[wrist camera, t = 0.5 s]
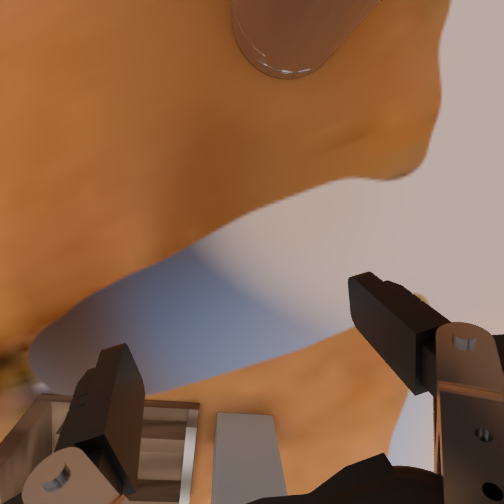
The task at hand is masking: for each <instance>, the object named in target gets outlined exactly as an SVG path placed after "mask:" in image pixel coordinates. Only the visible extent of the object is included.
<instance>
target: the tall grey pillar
mask: <svg viewBox="0 0 504 504" xmlns="http://www.w3.org/2000/svg"><path fill="white" fill-rule="evenodd" d="M277 496H288V495H287V490H286V485H285V479H284V474H283V469H282V463H281V458H280V453H279V448H278V442H277V437H276V432H275V426H274V421H273V416H272V415H257V414H239V413H221V412H217V421H216V430H215V438H214V452H213V474H212V496H211V504H246V503H249V502H252V501H254V500H257V499H260V498H264V497H277Z"/></svg>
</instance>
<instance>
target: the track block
mask: <svg viewBox="0 0 504 504" xmlns="http://www.w3.org/2000/svg"><path fill="white" fill-rule="evenodd" d="M71 400H73V396H63V395H46V394H41V395H40V396H39V397H38V399H37V400H36V401H35V402H34V403H33V405H32V406H31V407H30V408H29V409H28V411H27V412H26V413H25V414H24V415H23V417H22V418H21V419H20V420H19V421H18V423H17V424H16V425H15V426H14V427H13V429H12V430H11V431H10V432H9V433H8V435H7V436H6V437H5V438H4V440H3V441H2V442H1V443H0V504H3V503H4V502H6V501H8V500H9V499H11V498H13V497H14V496H16V495H17V494H19V493H21V492H22V490H23V487H24V484H25V482H26V480H27V478H28V477H29V475H30V474H31V472H32V471H33V470H34V469H35V468H36V467H37V466H38V464H40V463H41V462H42V461H43V460H44V459H45V458H47V457H48V456H50V455H51V454H53V453H54V450H55V447H56V444H57V441H58V438H59V435H60V433H61V430H62V427H63V424H64V421H65V418H66V415H67V412H68V411H69V406H70V403H71ZM199 404H200V403H184V402H167V401H150V400H144V411H143V422H142V433H141V445H140V456H139V467H138V479H137V490H136V493H133V494H130V495H127V496H126V497H127V499H128V500H129V501H130V502H131V503H132V504H189V502H190V493H191V483H192V474H193V464H194V454H195V444H196V434H197V424H198V414H199Z"/></svg>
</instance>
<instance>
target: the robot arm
mask: <svg viewBox="0 0 504 504" xmlns="http://www.w3.org/2000/svg"><path fill="white" fill-rule="evenodd" d="M380 1H381V0H232V25H233V31H234V34H235V38H236V41H237V43H238V45H239V47H240V49H241V51H242V53H243V54H244V56H245V57H246V58H247V60H248V61H249V62H250V63H251V64H252V65H253V66H255V67H256V68H257V69H258V70H260V71H261V72H263V73H265V74H267V75H269V76H272V77H276V78H280V79H293V78H298V77H303V76H305V75H307V74H309V73H312V72H313V71H315V70H316V69H317V68H319V67H320V66H321V65H322V64H323V63H324V62H325V61H326V60H327V59H328V58H329V57H330V56H331V55H332V53H333V52H334V51H335V50H336V49H337V48H338V47H339V46H340V45H341V44H342V43H343V42H344V41H345V40H346V39H347V37H348V36H349V35H350V34H351V33H352V32H353V31H354V30H355V29H356V28H357V26H358V25H359V24H360V23H361V22H362V21H363V20H364V19H365V18H366V17H367V15H368V14H369V13H370V12H371V11H372V10H373V9H374V8H375V7H376V6H377V4H378V3H379V2H380ZM348 288H349V300H350V311H351V317H352V320H353V322H354V325H355V326H356V328H357V329H358V331H359V332H360V333H361V334H362V335H363V336H364V337H365V339H366V340H367V341H368V342H369V343H370V344H371V346H372V347H373V348H374V349H375V350H376V351H377V352H378V354H379V355H380V356H381V357H382V358H383V359H384V360H385V362H386V363H387V364H388V365H389V366H390V367H391V369H392V370H393V371H394V372H395V373H396V374H397V375H398V377H399V378H400V379H401V380H402V381H403V382H404V383H405V385H406V386H407V387H408V388H409V389H410V390H411V391H412V393H413V394H414V395H419V394H421V393H424V392H427V391H429V392H430V393H431V394H432V395H433V421H434V473H433V472H431V471H428V470H424V469H420V468H415V467H409V466H392V465H391V463H390V462H389V460H388V459H387V457H386V455H385V454H384V453H381V454H379V455H376V456H373V457H371V458H368V459H365V460H362V461H360V462H357V463H354V464H352V465H349V466H346V467H344V468H343V469H342V470H340V471H339V472H338V473H336V474H335V475H334V476H332V477H331V478H330V479H328V480H327V481H326V482H324V483H323V484H322V485H320V486H319V487H318V488H316V489H315V490H314V491H312V492H310V493H308V494H303V495H290V496H277V497H264V498H260V499H257V500H254V501H252V502H249V503H246V504H504V334H503V335H491V334H490V333H489V332H488V331H486V330H485V329H483V328H481V327H479V326H476V325H473V324H469V323H463V322H450V321H449V320H448V319H446V318H445V317H444V316H442V315H441V314H440V313H438V312H437V311H436V310H434V309H433V308H431V307H430V306H429V305H427V304H426V303H425V302H423V301H421V300H420V299H419V298H418V297H417V296H415V295H412V293H411V292H410V291H409V290H407V289H406V288H404V287H403V286H401V285H399V284H396V283H393V282H391V281H384V282H383V281H382V280H380V279H379V278H378V277H377V276H375V275H374V274H373V273H371V272H366V273H363V274H359V275H356V276H352V277H350V278H349V279H348ZM144 400H145V390H144V384H143V380H142V377H141V375H140V372H139V370H138V368H137V365H136V363H135V361H134V359H133V356H132V354H131V352H130V349H129V347H128V346H127V344H125V343H123V344H120V345H116V346H113V347H110V348H107V349H103V350H101V352H100V355H99V358H98V362H97V365H96V368H93V369H89V370H87V372H86V373H85V374H84V376H83V377H82V378H81V379H80V381H79V382H78V383H77V386H76V389H75V392H74V395H73V400H71V403H70V406H69V411H68V412H67V415H66V418H65V421H64V424H63V427H62V430H61V433H60V435H59V438H58V441H57V444H56V447H55V450H54V453H53V454H51V455H50V456H48V457H47V458H45V459H44V460H43V461H42V462H41V463H40V464H38V466H37V467H36V468H35V469H34V470H33V471H32V472H31V474H30V475H29V477H28V478H27V480H26V482H25V484H24V487H23V490H22V492H21V493H19V494H17V495H16V496H14V497H13V498H11V499H9V500H8V501H6V502H4V503H3V504H132V503H131V502H130V501H129V500H128V499H127V497H126V496H127V495H130V494H133V493H136V490H137V479H138V467H139V456H140V445H141V433H142V422H143V411H144Z"/></svg>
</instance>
